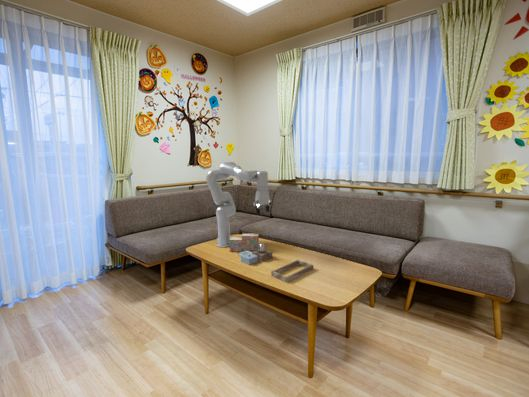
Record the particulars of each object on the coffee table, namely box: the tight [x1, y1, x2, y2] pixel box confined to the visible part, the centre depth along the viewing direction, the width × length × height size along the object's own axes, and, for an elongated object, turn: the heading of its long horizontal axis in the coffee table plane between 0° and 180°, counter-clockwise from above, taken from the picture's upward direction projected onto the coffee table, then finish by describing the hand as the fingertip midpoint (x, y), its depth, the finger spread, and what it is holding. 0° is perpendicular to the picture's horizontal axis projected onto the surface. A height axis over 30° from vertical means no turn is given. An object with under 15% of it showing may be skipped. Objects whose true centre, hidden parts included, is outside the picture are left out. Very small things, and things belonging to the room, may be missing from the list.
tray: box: [237, 251, 252, 258], centre depth 197 cm, size 8×8×2 cm
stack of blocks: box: [229, 232, 260, 253], centre depth 208 cm, size 21×6×12 cm, turn 89°
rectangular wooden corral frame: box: [270, 259, 314, 283], centre depth 170 cm, size 12×25×3 cm, turn 135°
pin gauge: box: [259, 242, 265, 254], centre depth 193 cm, size 3×3×10 cm
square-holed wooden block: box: [252, 248, 273, 262], centre depth 194 cm, size 10×10×4 cm
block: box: [240, 253, 259, 266], centre depth 187 cm, size 8×8×4 cm
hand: (262, 212), depth 197 cm, fingers open, 9 cm apart
